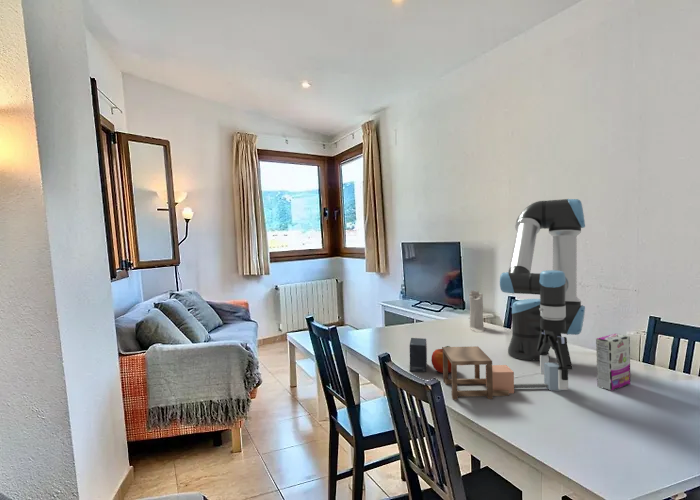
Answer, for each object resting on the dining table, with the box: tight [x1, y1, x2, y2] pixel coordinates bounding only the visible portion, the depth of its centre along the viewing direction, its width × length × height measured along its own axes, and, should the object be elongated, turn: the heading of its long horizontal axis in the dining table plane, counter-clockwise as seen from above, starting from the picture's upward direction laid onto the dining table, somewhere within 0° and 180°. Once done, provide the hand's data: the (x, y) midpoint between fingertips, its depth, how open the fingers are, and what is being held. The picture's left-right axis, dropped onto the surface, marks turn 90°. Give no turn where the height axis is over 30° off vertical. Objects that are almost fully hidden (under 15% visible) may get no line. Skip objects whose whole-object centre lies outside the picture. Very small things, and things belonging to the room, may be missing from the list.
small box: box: [409, 337, 428, 373], centre depth 160 cm, size 11×6×10 cm, turn 168°
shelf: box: [442, 345, 510, 400], centre depth 136 cm, size 18×16×12 cm
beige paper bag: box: [468, 290, 486, 333], centre depth 218 cm, size 7×14×20 cm, turn 170°
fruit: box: [430, 345, 452, 374], centre depth 155 cm, size 10×10×10 cm
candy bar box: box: [595, 333, 632, 392], centre depth 136 cm, size 11×5×16 cm, turn 117°
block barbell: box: [485, 362, 559, 394], centre depth 136 cm, size 23×7×8 cm, turn 88°
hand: (553, 381), depth 136 cm, fingers open, 13 cm apart
